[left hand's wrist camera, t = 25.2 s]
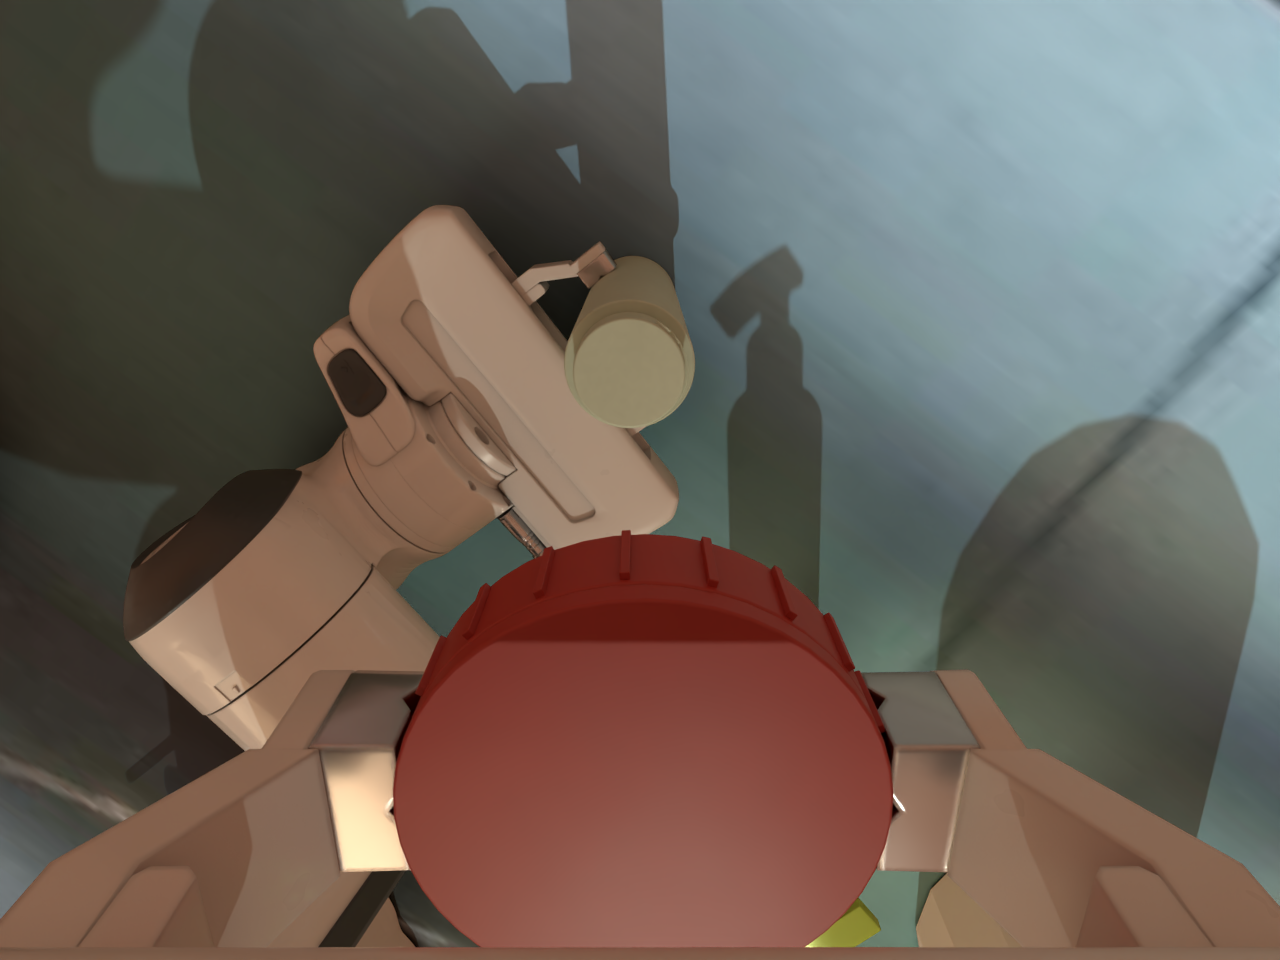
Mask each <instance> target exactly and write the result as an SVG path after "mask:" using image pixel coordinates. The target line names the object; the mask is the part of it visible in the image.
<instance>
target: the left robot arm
mask: <svg viewBox="0 0 1280 960" xmlns="http://www.w3.org/2000/svg"><path fill="white" fill-rule="evenodd" d="M423 674H424V672H423V671H375V670H357V671H354V670H319V671H317V672H314V673H313V674H312V675H311V676H310V677H309V679H308V680H307V682H306V683H305V685H304V686H303V687H302V689H301V690H300V692H299V693H298V695H297V696H296V698H295V699H294V701H293V702H292V704H291V705H290V707H289V708H288V710H287V711H286V713H285V714H284V716H283V717H282V719H281V720H280V722H279V723H278V725H277V726H276V728H275V729H274V731H273V732H272V734H271V735H270V737H269V738H268V740H267V741H266V743H265V744H264V746H263V747H262V749H249V750H247V751H245V752H243V753H242V754H240V755H238V756H236V757H235V758H233V759H231V760H229V761H228V762H226V763H224V764H222V765H220V766H219V767H217V768H215V769H213V770H212V771H210V772H208V773H206V774H205V775H203V776H201V777H199V778H198V779H196V780H194V781H192V782H191V783H189V784H187V785H185V786H184V787H182V788H180V789H178V790H177V791H175V792H173V793H171V794H170V795H168V796H166V797H164V798H163V799H161V800H159V801H157V802H155V803H154V804H152V805H150V806H148V807H147V808H145V809H143V810H141V811H140V812H138V813H136V814H134V815H133V816H131V817H129V818H127V819H126V820H124V821H122V822H120V823H119V824H117V825H115V826H113V827H112V828H110V829H108V830H106V831H105V832H103V833H101V834H99V835H98V836H96V837H94V838H92V839H90V840H89V841H87V842H85V843H83V844H82V845H80V846H78V847H76V848H75V849H73V850H71V851H69V852H68V853H66V854H64V855H62V856H61V857H59V858H57V859H55V860H54V861H52V862H50V863H49V864H48V865H47V866H46V868H45V869H44V870H43V871H42V872H41V873H40V874H39V876H38V877H37V878H36V879H35V880H34V881H33V883H32V884H31V885H30V886H29V887H28V888H27V889H26V891H25V892H24V893H23V894H22V895H21V896H20V898H19V899H18V900H17V901H16V902H15V903H14V904H13V906H12V907H11V908H10V909H9V910H8V911H7V912H6V914H5V915H4V916H3V917H2V918H1V919H0V960H1280V906H1279V905H1278V904H1277V903H1276V902H1275V901H1274V899H1273V898H1272V897H1271V896H1270V895H1269V894H1268V893H1267V891H1266V890H1265V889H1264V888H1263V887H1262V886H1261V885H1260V883H1259V882H1258V881H1257V880H1256V879H1255V878H1254V877H1253V876H1252V874H1251V873H1250V872H1249V871H1248V870H1247V869H1246V868H1245V866H1244V865H1243V864H1242V863H1240V862H1238V861H1236V860H1234V859H1233V858H1231V857H1229V856H1227V855H1226V854H1224V853H1222V852H1220V851H1219V850H1217V849H1215V848H1213V847H1211V846H1210V845H1208V844H1206V843H1204V842H1203V841H1201V840H1199V839H1197V838H1196V837H1194V836H1192V835H1190V834H1188V833H1187V832H1185V831H1183V830H1181V829H1180V828H1178V827H1176V826H1174V825H1173V824H1171V823H1169V822H1167V821H1165V820H1164V819H1162V818H1160V817H1158V816H1157V815H1155V814H1153V813H1151V812H1150V811H1148V810H1146V809H1144V808H1143V807H1141V806H1139V805H1137V804H1135V803H1134V802H1132V801H1130V800H1128V799H1127V798H1125V797H1123V796H1121V795H1120V794H1118V793H1116V792H1114V791H1112V790H1111V789H1109V788H1107V787H1105V786H1104V785H1102V784H1100V783H1098V782H1097V781H1095V780H1093V779H1091V778H1089V777H1088V776H1086V775H1084V774H1082V773H1081V772H1079V771H1077V770H1075V769H1074V768H1072V767H1070V766H1068V765H1066V764H1065V763H1063V762H1061V761H1059V760H1058V759H1056V758H1054V757H1052V756H1051V755H1049V754H1047V753H1045V752H1044V751H1042V750H1040V749H1027V748H1026V746H1025V745H1024V744H1023V742H1022V741H1021V739H1020V738H1019V736H1018V735H1017V733H1016V732H1015V731H1014V729H1013V728H1012V726H1011V725H1010V723H1009V722H1008V721H1007V719H1006V718H1005V716H1004V715H1003V713H1002V712H1001V710H1000V709H999V708H998V706H997V705H996V703H995V702H994V700H993V699H992V697H991V696H990V695H989V693H988V692H987V690H986V689H985V687H984V686H983V684H982V683H981V682H980V680H979V679H978V677H977V676H976V674H975V673H973V672H972V671H970V670H968V669H966V670H937V671H926V672H868V673H861V675H862V677H863V679H864V681H865V684H866V686H867V688H868V690H869V693H870V695H871V697H872V699H873V702H874V704H875V706H876V708H877V711H878V713H879V715H880V717H881V720H882V722H883V724H884V728H885V732H883V733H881V735H882V737H883V740H884V743H885V746H886V750H887V754H888V757H889V761H890V765H891V772H892V782H893V792H894V794H893V808H892V820H891V825H890V829H889V833H888V837H887V841H886V846H885V848H884V851H883V853H882V855H881V858H880V860H879V863H878V865H877V870H887V871H922V872H948V875H947V876H948V877H949V878H951V879H952V880H953V881H954V882H955V883H956V884H957V885H958V886H959V887H960V888H961V889H962V890H963V891H964V892H965V893H966V894H967V895H968V896H969V897H970V898H972V899H973V900H974V901H975V902H976V903H977V904H978V905H979V906H980V907H981V908H982V909H983V910H984V911H985V912H986V913H987V914H988V915H989V916H990V917H992V918H993V919H994V920H995V921H996V922H997V923H998V924H999V925H1000V926H1001V927H1002V928H1003V929H1004V930H1005V931H1006V932H1007V933H1008V934H1009V935H1010V936H1011V937H1013V938H1014V939H1015V940H1016V941H1017V942H1018V943H1019V944H1020V945H1021V946H1022V947H267V946H268V945H269V944H270V943H271V942H272V941H273V940H274V939H275V938H276V937H277V936H278V935H279V934H281V933H282V932H283V931H284V930H285V929H286V928H287V927H288V926H289V925H290V924H291V923H292V922H293V921H294V920H295V919H296V918H297V917H298V916H299V915H300V914H301V913H302V912H303V911H305V910H306V909H307V908H308V907H309V906H310V905H311V904H312V903H313V902H314V901H315V900H316V899H317V898H318V897H319V896H320V895H321V894H322V893H323V892H324V891H325V890H326V889H327V888H329V887H330V886H331V885H332V884H333V883H334V882H335V881H336V880H337V879H338V878H339V877H340V872H365V871H399V870H411V869H410V868H409V866H408V863H407V860H406V858H405V855H404V853H403V850H402V848H401V845H400V842H399V837H398V833H397V828H396V823H395V819H394V807H393V783H394V775H395V766H396V761H397V758H398V755H399V751H400V748H401V744H402V741H403V738H404V735H405V733H406V730H407V728H408V726H409V723H410V721H411V719H412V716H413V714H414V712H415V709H416V707H417V704H418V702H419V700H420V697H421V696H419V695H417V694H415V692H416V690H417V687H418V685H419V683H420V681H421V678H422V676H423Z"/></svg>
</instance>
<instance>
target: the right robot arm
mask: <svg viewBox="0 0 1280 960" xmlns="http://www.w3.org/2000/svg"><path fill="white" fill-rule="evenodd" d="M616 267H617V264H616V262H615V261H614V260H613V258H612V257H611V255H610V254H609V253H608V251H607V250H606V248H605V247H604V246H603V244H602V243H601V242H600V241H599V242H598V243H597V244H595V245H594V246H593V247H591V248H590V249H589V250H587V251H586V252H585V253H584V254H582V255H581V256H580V257H579V258H577V259H576V260H575V261H574V262H572V260H568V261H560V262H552V263H544V264H536V265H533V266H532V267H531V268H530V269H528V270H527V271H526V272H525V273H523V274H522V275H521V276H520V277H517V276H516V275H515V273H514V272H513V271H512V269H511V268H510V267H509V266H508V264H507V263H506V262H505V261H504V259H503V258H502V257H501V255H500V254H499V253H498V252H497V250H496V249H495V248H494V247H493V245H492V244H491V243H490V241H489V240H488V239H487V238H486V236H485V235H484V234H483V233H482V231H481V230H480V229H479V227H478V226H477V225H476V224H475V222H474V221H473V220H472V218H471V217H470V216H469V215H468V213H467V212H466V211H465V210H464V209H463V208H461V207H457V206H450V205H434V206H431V207H429V208H427V209H425V210H424V211H422V212H421V213H420V214H419V215H418V216H416V217H415V218H414V219H413V220H412V221H411V222H409V223H408V224H407V225H406V226H405V227H404V228H403V229H402V230H401V231H400V232H399V233H398V234H397V235H396V236H395V237H394V238H393V239H392V240H391V241H390V242H389V243H388V245H387V246H386V247H385V248H384V249H383V250H382V251H381V252H380V253H379V255H378V256H377V257H376V258H375V259H374V261H373V262H372V263H371V264H370V265H369V267H368V268H367V269H366V270H365V272H364V273H363V274H362V276H361V277H360V278H359V280H358V282H357V283H356V285H355V287H354V289H353V291H352V294H351V298H350V303H349V313H350V315H347V316H346V317H344V318H342V319H340V320H339V321H337V322H336V323H334V324H333V325H332V326H330V327H329V328H328V329H327V330H326V331H325V332H323V333H322V335H321V336H320V337H319V338H318V339H317V340H316V342H315V343H314V347H313V350H314V355H315V358H316V361H317V363H318V365H319V367H320V369H321V371H322V373H323V375H324V377H325V379H326V381H327V383H328V385H329V387H330V389H331V391H332V393H333V395H334V397H335V399H336V401H337V403H338V405H339V407H340V410H341V412H342V414H343V416H344V418H345V421H346V423H347V425H348V427H347V428H346V429H345V430H344V431H343V432H342V433H341V435H340V436H339V437H338V439H337V441H336V442H335V444H334V445H333V447H332V448H331V449H330V450H329V452H328V453H327V454H325V455H324V456H323V457H322V458H320V459H318V460H316V461H314V462H311V463H309V464H306V465H303V466H301V467H299V468H297V469H295V470H293V469H267V470H250V471H247V472H244V473H242V474H240V475H238V476H237V477H235V478H234V479H232V480H231V481H229V482H228V483H227V484H226V485H225V486H223V487H222V488H221V489H220V490H219V491H218V492H217V493H216V494H215V495H214V496H213V497H212V498H211V499H210V500H209V501H208V502H207V503H206V504H205V506H204V507H203V508H202V509H201V510H200V511H199V512H198V513H197V514H196V515H194V516H193V517H191V518H189V519H188V520H186V521H184V522H183V523H181V524H179V525H178V526H176V527H175V528H173V529H172V530H170V531H169V532H168V533H166V534H165V535H163V536H162V537H161V538H159V539H158V540H157V541H156V542H154V543H153V544H152V545H151V546H149V547H148V548H147V549H146V550H145V551H144V552H143V553H142V554H141V555H140V556H139V557H138V558H137V559H136V560H135V561H134V562H133V564H132V566H131V570H130V574H129V578H128V583H127V588H126V593H125V600H124V609H123V626H124V634H125V640H126V641H129V642H130V643H131V645H132V646H133V647H134V648H135V650H136V651H137V652H138V653H139V655H140V656H141V657H142V658H143V659H144V660H145V661H146V662H147V663H148V664H149V665H150V666H151V667H152V668H153V669H154V670H155V671H156V672H158V673H159V674H160V675H161V676H162V677H163V678H164V679H165V680H166V681H167V682H168V683H169V684H170V685H171V686H172V687H173V688H174V689H175V690H177V691H178V692H179V693H180V694H181V695H182V696H183V697H184V698H185V699H186V700H187V701H188V702H190V703H191V704H192V705H193V706H194V707H195V708H196V709H197V710H198V711H199V712H200V713H201V714H203V715H206V716H207V717H208V718H210V719H211V720H212V721H213V722H214V723H215V724H216V725H217V726H218V727H219V728H220V729H222V730H223V731H224V732H225V733H226V734H227V735H228V736H229V737H230V738H231V739H232V740H234V741H235V742H236V743H237V744H238V745H239V746H240V747H241V748H242V749H243V750H244V751H247V750H249V749H262V747H263V746H264V744H265V743H266V741H267V740H268V738H269V737H270V735H271V734H272V732H273V731H274V729H275V728H276V726H277V725H278V723H279V722H280V720H281V719H282V717H283V716H284V714H285V713H286V711H287V710H288V708H289V707H290V705H291V704H292V702H293V701H294V699H295V698H296V696H297V695H298V693H299V692H300V690H301V689H302V687H303V686H304V685H305V683H306V682H307V680H308V679H309V677H310V676H311V675H312V674H313V673H314V672H317V671H319V670H354V671H357V670H375V671H423V672H424V671H425V669H426V667H427V665H428V662H429V660H430V658H431V655H432V653H433V651H434V649H435V646H436V644H437V642H438V640H439V638H440V637H439V636H438V635H437V633H436V632H435V631H434V630H433V629H432V628H431V627H430V626H429V625H428V624H427V623H426V622H425V621H424V620H423V619H422V618H421V616H420V615H419V614H418V613H417V612H416V611H415V610H414V609H413V608H412V607H411V606H410V605H409V604H408V603H407V602H406V601H405V599H404V598H403V597H402V596H401V595H400V594H399V593H398V592H397V591H396V589H398V588H399V587H400V586H401V584H402V583H403V582H404V580H405V579H406V578H407V576H408V575H409V574H410V572H411V571H412V570H413V569H414V568H416V567H417V566H419V565H420V564H422V563H424V562H426V561H429V560H432V559H435V558H438V557H441V556H443V555H445V554H447V553H448V552H450V551H451V550H452V549H454V548H455V547H456V546H458V545H459V544H461V543H462V542H463V541H465V540H466V539H468V538H469V537H470V536H472V535H473V534H474V533H476V532H477V531H479V530H480V529H481V528H483V527H484V526H486V525H487V524H489V523H490V522H491V521H492V520H494V519H495V518H498V519H499V521H500V522H501V523H502V524H503V525H504V526H505V527H506V528H507V529H508V531H509V532H510V533H511V534H512V535H513V536H514V537H515V538H516V539H517V540H518V541H519V542H520V543H522V544H523V545H524V546H525V547H526V548H527V549H528V550H529V552H530V553H531V554H532V555H533V556H532V557H533V558H534V559H535V558H537V557H540V556H542V555H543V551H544V549H545V548H547V547H550V546H552V547H553V549H554V550H556V549H559V548H562V547H566V546H569V545H572V544H576V543H579V542H582V541H587V540H592V539H598V538H604V537H610V536H619V535H621V532H622V530H631V535H638V534H649V533H651V532H653V531H655V530H656V529H658V528H660V527H661V526H663V525H664V524H666V523H667V522H669V521H670V520H671V519H672V518H673V517H674V515H675V512H676V509H677V506H678V501H679V490H678V485H677V481H676V479H675V477H674V476H673V475H672V474H671V472H670V471H669V470H668V468H667V467H666V466H665V465H664V463H663V462H662V461H661V459H660V458H659V457H658V456H657V454H656V453H655V452H654V451H653V449H652V448H651V447H650V445H649V444H648V443H647V442H646V440H645V439H644V438H643V437H642V435H641V434H640V433H639V431H640V430H642V429H643V428H645V427H646V426H644V427H639V428H621V427H615V426H612V425H608V424H605V423H603V422H601V421H599V420H597V419H596V418H594V417H592V416H591V415H590V414H588V413H587V412H586V411H585V410H584V409H583V408H582V407H581V406H580V405H579V404H578V402H577V401H576V400H575V398H574V397H573V395H572V393H571V391H570V389H569V387H568V384H567V381H566V377H565V371H564V356H565V349H566V346H567V342H568V341H567V340H566V338H565V337H564V336H563V335H562V333H561V332H560V331H559V329H558V328H557V327H556V326H555V324H554V323H553V322H552V320H551V319H550V318H549V317H548V315H547V314H546V313H545V312H544V310H543V309H542V308H541V306H540V305H539V304H538V303H537V301H536V300H537V299H538V298H540V297H541V296H542V295H543V294H544V293H545V292H546V291H547V290H548V289H549V284H548V282H547V281H549V280H556V279H563V278H571V277H578V276H579V278H580V279H581V280H582V281H583V283H584V284H585V285H586V286H587V288H588V289H589V288H591V287H592V286H593V285H594V284H596V283H597V282H598V281H599V279H600V277H601V276H605V275H607V274H609V273H610V272H611V271H612V270H614V269H615V268H616ZM405 871H406V870H399V871H365V872H340V877H339V878H338V879H337V880H336V881H335V882H334V883H333V884H332V885H331V886H330V887H329V888H327V889H326V890H325V891H324V892H323V893H322V894H321V895H320V896H319V897H318V898H317V899H316V900H315V901H314V902H313V903H312V904H311V905H310V906H309V907H308V908H307V909H306V910H305V911H303V912H302V913H301V914H300V915H299V916H298V917H297V918H296V919H295V920H294V921H293V922H292V923H291V924H290V925H289V926H288V927H287V928H286V929H285V930H284V931H283V932H282V933H281V934H279V935H278V936H277V937H276V938H275V939H274V940H273V941H272V942H271V943H270V944H269V945H268V946H267V947H415V946H414V944H413V943H412V942H411V941H410V940H409V939H408V938H407V937H406V935H405V934H404V933H403V932H402V930H401V928H400V925H399V922H398V918H397V915H396V911H395V909H394V906H393V904H392V902H391V901H390V899H389V895H390V894H391V892H392V891H393V889H394V888H395V886H396V885H397V883H398V882H399V880H400V879H401V877H402V876H403V874H404V873H405Z"/></svg>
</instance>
